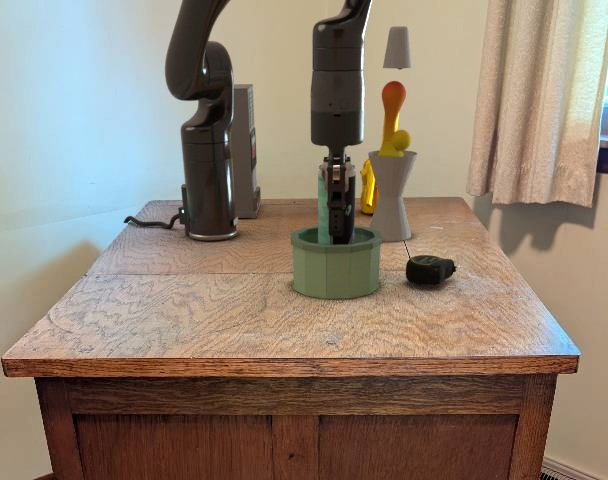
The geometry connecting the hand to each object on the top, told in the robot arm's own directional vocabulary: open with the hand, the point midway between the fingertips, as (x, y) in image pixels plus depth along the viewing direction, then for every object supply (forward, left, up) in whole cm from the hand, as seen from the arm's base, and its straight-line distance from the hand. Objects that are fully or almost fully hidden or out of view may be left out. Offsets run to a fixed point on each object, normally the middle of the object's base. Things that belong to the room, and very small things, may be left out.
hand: (336, 230), depth 108 cm
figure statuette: (-16, +51, -9) cm, 54 cm away
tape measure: (+13, +8, -9) cm, 17 cm away
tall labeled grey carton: (-42, +39, -9) cm, 58 cm away
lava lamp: (-5, +33, -9) cm, 35 cm away
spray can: (0, 0, -9) cm, 9 cm away
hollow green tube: (0, 0, -8) cm, 8 cm away
